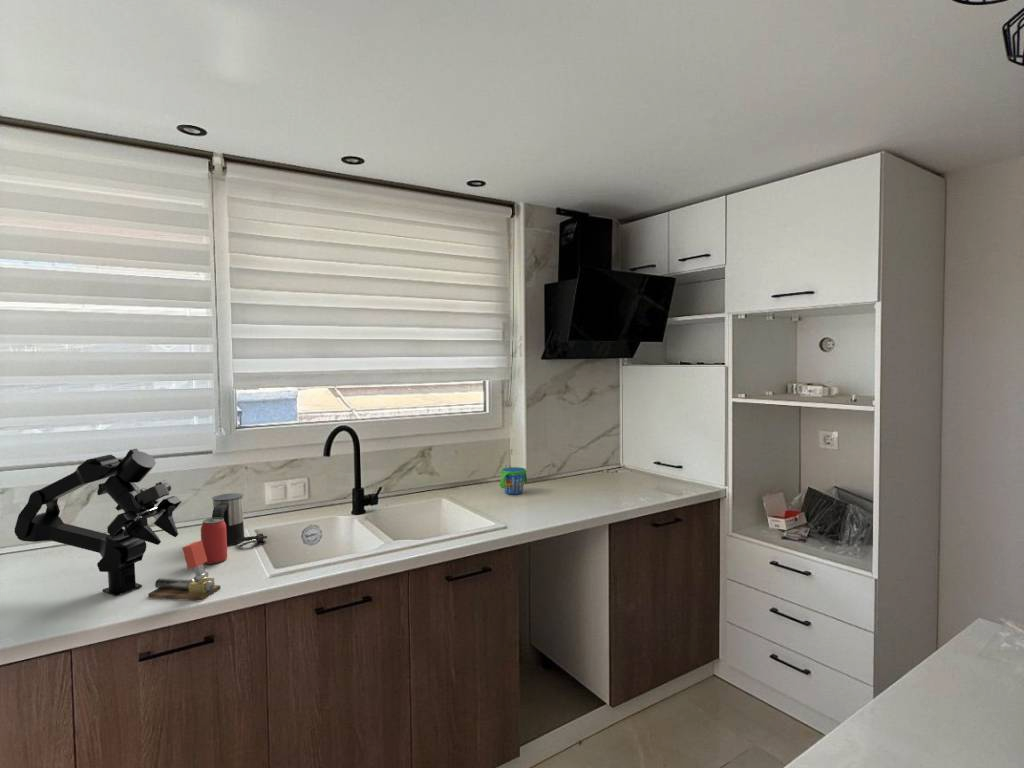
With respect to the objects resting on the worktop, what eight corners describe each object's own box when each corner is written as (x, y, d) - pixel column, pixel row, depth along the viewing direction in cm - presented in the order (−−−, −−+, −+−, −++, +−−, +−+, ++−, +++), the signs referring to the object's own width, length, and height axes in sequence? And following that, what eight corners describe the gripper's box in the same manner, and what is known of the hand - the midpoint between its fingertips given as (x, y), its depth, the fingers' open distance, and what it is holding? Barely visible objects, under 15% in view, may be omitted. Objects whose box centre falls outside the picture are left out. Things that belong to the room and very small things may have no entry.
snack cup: (518, 487, 252) (517, 464, 252) (535, 491, 245) (535, 468, 244) (491, 494, 241) (491, 470, 241) (509, 498, 234) (509, 473, 233)
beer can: (221, 555, 171) (219, 515, 171) (231, 559, 167) (229, 519, 166) (198, 561, 166) (196, 520, 166) (208, 566, 162) (206, 524, 161)
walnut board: (148, 597, 142) (148, 593, 142) (169, 586, 149) (169, 582, 148) (201, 600, 139) (201, 596, 139) (220, 589, 146) (220, 585, 146)
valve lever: (192, 583, 141) (182, 547, 141) (203, 577, 145) (193, 542, 145) (200, 581, 141) (190, 545, 141) (211, 575, 145) (201, 540, 145)
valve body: (152, 592, 143) (152, 580, 143) (164, 585, 147) (164, 574, 147) (205, 595, 141) (205, 583, 141) (216, 588, 145) (215, 577, 145)
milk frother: (214, 539, 186) (212, 494, 185) (267, 532, 192) (265, 489, 192) (210, 553, 173) (208, 504, 172) (267, 545, 179) (265, 499, 179)
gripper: (115, 481, 135) (159, 529, 134) (173, 465, 153) (212, 507, 152) (87, 513, 136) (131, 561, 135) (148, 494, 155) (187, 535, 154)
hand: (168, 539), depth 144 cm, fingers open, 6 cm apart
